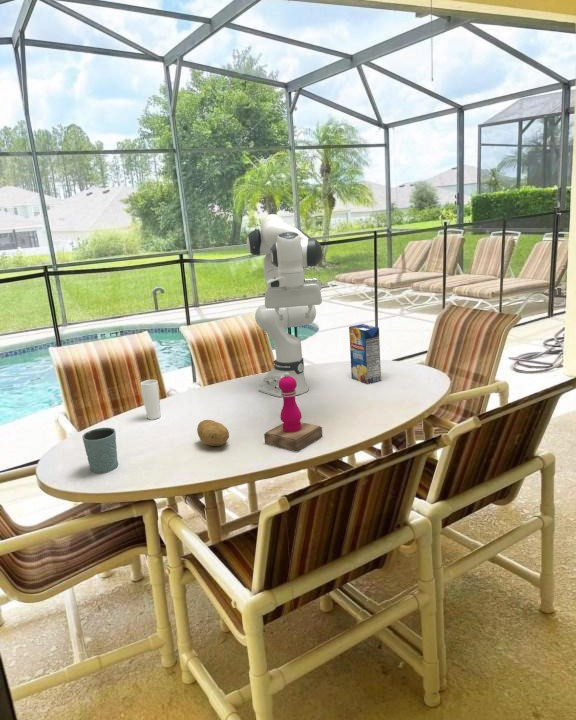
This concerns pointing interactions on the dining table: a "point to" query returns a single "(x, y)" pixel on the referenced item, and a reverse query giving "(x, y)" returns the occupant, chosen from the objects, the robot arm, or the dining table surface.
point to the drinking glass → (151, 398)
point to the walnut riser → (293, 437)
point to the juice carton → (365, 353)
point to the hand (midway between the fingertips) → (294, 318)
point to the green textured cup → (101, 450)
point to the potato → (212, 433)
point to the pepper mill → (289, 404)
